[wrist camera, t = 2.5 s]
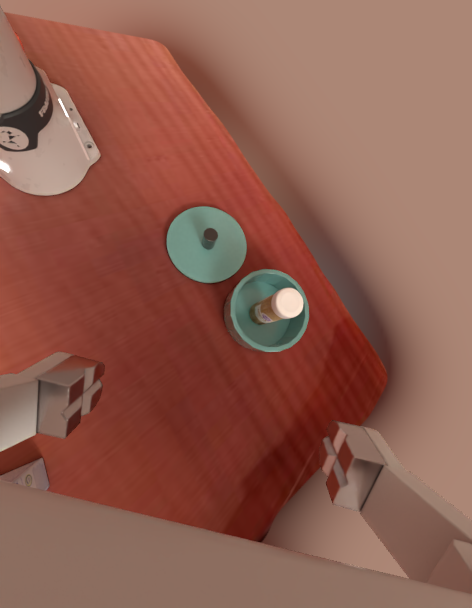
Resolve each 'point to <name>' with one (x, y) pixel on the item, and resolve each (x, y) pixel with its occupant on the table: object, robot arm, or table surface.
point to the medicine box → (29, 475)
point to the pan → (268, 334)
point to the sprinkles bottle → (277, 307)
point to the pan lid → (206, 244)
